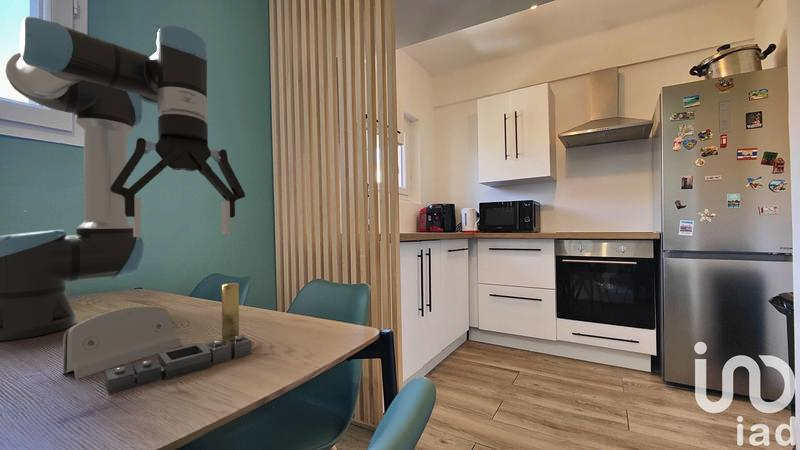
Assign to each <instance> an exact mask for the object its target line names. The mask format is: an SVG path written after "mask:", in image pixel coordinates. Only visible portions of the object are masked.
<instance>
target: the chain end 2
mask: <svg viewBox="0 0 800 450" xmlns="http://www.w3.org/2000/svg"><path fill="white" fill-rule="evenodd" d="M193 353H197V354H195V355H190V356H186V357H182V358H178V359H174V360H171V359H172V358H177V357H181V356H185V355H189V354H193ZM250 355H252V339H250V338H248V337H247V336H245V335H243V334H239V335H238V336H235V337H230V338H226V340H223V339H222V338H221V339H217V340H213V341H209V342H206V343H204V344H202V343H201V342H198V343H194V344H191V345H185V346H180V347H176V348H173V349H170V350H167V351H163V352H159V353H157V362H158V361H159V362H160V364H161V365H162V367H163V368H164V369H165V371H166V372H167V371H171V370H175V369H178V368H182V367H186V366H190V365H193V364H197V363H201V362H205V361H208V360H211V366H212V365H213V366H215V365H218V364H220V363H221V364H222V363H225V362H229V361H231V360H232V358H233V359H235V360H236V359H238V358H243V357H246V356H250Z"/></svg>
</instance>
